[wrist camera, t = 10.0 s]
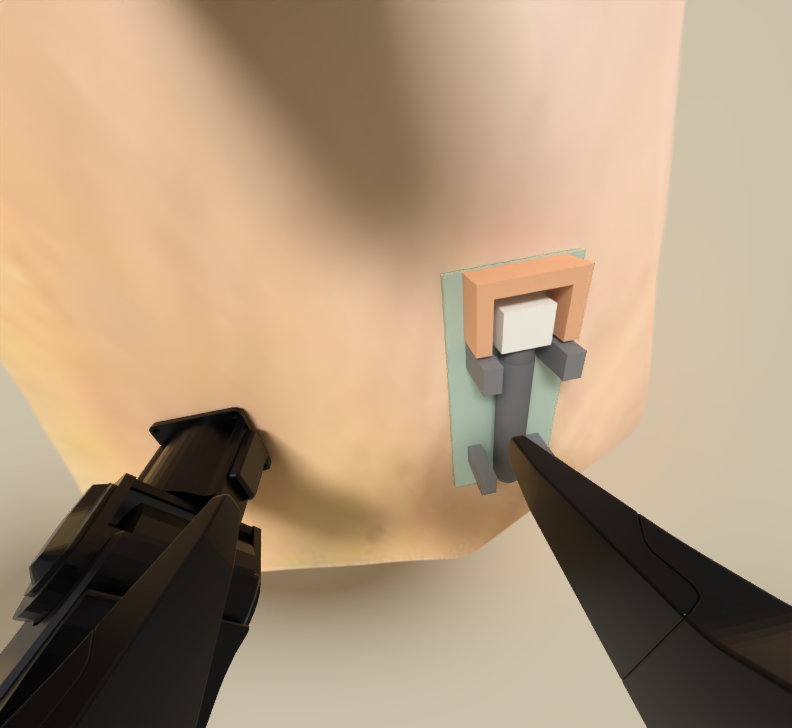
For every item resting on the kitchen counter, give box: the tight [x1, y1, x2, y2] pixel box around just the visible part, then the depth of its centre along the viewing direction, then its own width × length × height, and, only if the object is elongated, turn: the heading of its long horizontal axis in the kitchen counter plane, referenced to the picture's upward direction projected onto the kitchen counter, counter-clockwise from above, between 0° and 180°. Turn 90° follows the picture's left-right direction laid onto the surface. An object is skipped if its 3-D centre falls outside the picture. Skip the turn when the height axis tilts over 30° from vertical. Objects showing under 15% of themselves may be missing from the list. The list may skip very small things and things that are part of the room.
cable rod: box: [493, 291, 557, 483], centre depth 23 cm, size 3×17×2 cm, turn 8°
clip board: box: [441, 248, 595, 495], centre depth 23 cm, size 9×21×4 cm, turn 8°
